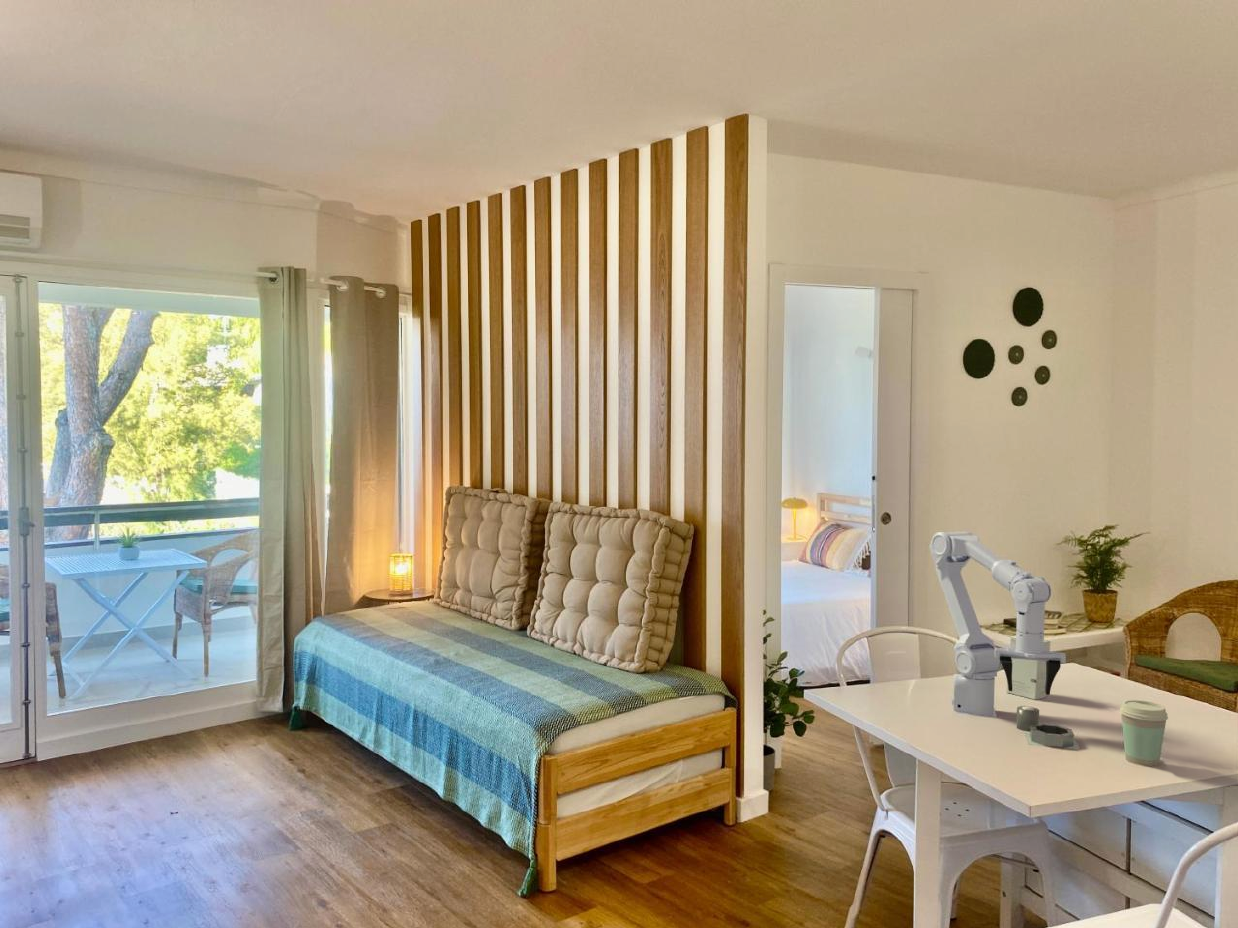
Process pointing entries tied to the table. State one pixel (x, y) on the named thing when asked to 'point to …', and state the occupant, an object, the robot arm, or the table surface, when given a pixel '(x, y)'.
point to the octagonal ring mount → (1051, 735)
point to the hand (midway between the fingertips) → (1028, 691)
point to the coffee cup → (1143, 731)
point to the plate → (1048, 746)
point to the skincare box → (1028, 675)
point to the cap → (1027, 717)
